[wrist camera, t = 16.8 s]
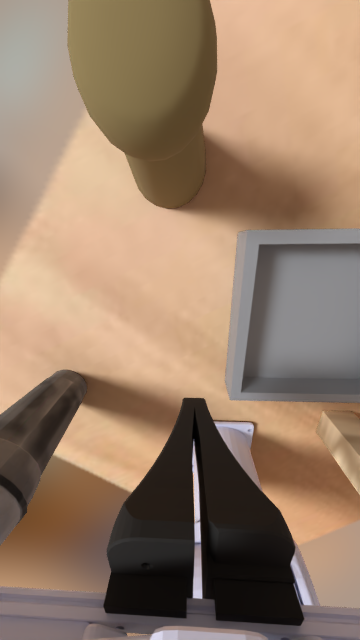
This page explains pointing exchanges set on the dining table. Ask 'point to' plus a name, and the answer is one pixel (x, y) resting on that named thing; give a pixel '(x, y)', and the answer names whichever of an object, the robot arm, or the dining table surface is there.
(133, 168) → the olive pawn figure
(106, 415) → the dining table surface
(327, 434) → the block
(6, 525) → the beverage cup
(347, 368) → the shallow grey box
